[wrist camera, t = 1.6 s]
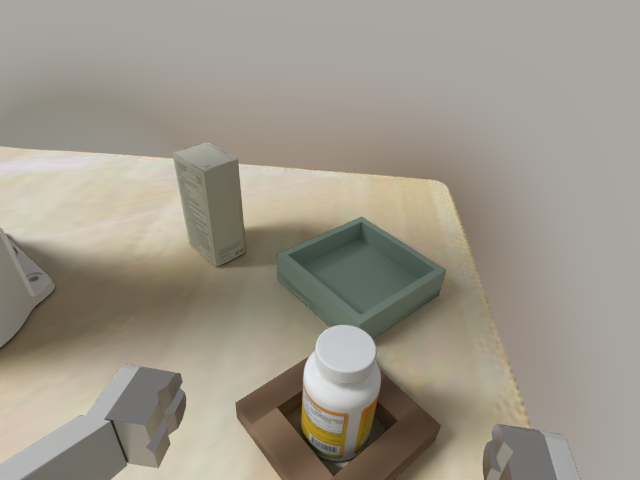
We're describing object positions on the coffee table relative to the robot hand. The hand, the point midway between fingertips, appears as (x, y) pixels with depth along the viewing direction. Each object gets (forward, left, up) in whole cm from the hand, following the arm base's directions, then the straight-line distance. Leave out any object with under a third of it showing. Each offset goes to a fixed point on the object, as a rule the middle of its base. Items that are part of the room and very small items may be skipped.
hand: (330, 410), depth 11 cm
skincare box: (-34, +13, -22) cm, 42 cm away
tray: (-19, +22, -21) cm, 36 cm away
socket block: (-8, +9, -21) cm, 25 cm away
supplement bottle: (-8, +9, -22) cm, 25 cm away
